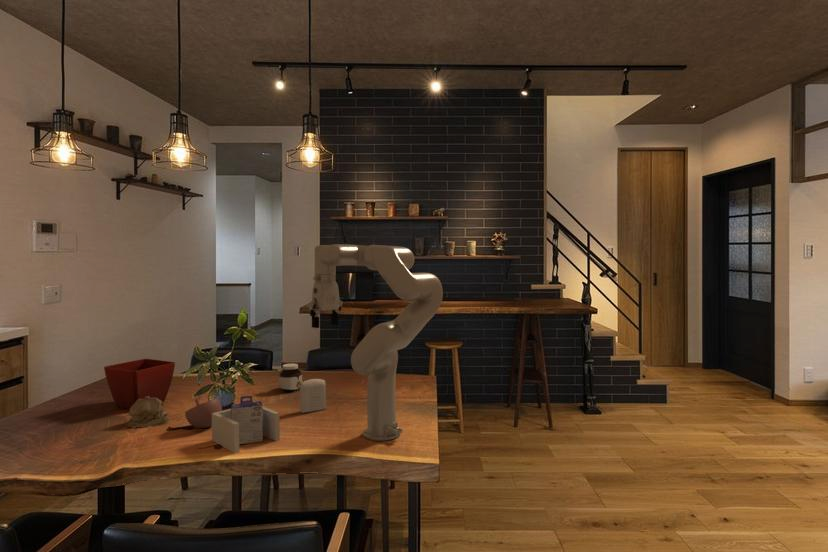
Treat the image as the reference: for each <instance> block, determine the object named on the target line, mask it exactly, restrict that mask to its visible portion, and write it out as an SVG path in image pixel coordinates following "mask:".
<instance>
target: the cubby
mask: <svg viewBox="0 0 828 552" xmlns="http://www.w3.org/2000/svg"><path fill="white" fill-rule="evenodd" d="M262 409H263V437H266V438H268V439H270V438H271V439H270V440H272V439H273V440H272V441H274V440H275V442H277V440H278V441H280V440H281V438H280V437H281V436H280V434H281V433H280V431H281V430H280V412H278V411H275V410H273V409H270V408H269V407H265V406H264V405H262ZM212 440H213V441H212ZM211 441H212V442H214V441H215V443H216V444H218V445H219V444H220V445H219V446H221V445H222V446H221V447H223V448H225V449H226V448H227V450H228V451H230V452H232V453H233V454H237V453H240V444H239V423H238V422H235V421H233V420H231V408H228V409H225V410H222V411H220V412H215V413H212V426H211Z"/></svg>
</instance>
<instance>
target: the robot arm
mask: <svg viewBox="0 0 828 552" xmlns="http://www.w3.org/2000/svg"><path fill="white" fill-rule="evenodd" d="M414 264H415V255H414V253H413V251H411V249H409V248H408V247H405V246H397V245H381V244H370V245H363V244H350V243H349V244H347V243H345V244H341V243H340V244H339V243H337V244H336V243H335V244H318V245H316V246H315V247H314V276H313V281H314V283H313V287H312V293H311V294H312V295H311V301H310V302H308V303H307V304H306V309H307V312H308V314H309V316H310V317H311V328H313V329H319V328H320V316H319V315H320V313H321V312H328V311H331V313H330V324H331V325H333V326H339V315H340V314H341V310H342V307H343V305H344V301H342V299H340V290H339V285H338V282H337V281H336V279H337V274H336V273H337V272H336V267H337V266H339V267H341V266H361V267H366V268H367V269H368V270H371V271H378V273H379V274H380V276H381V277H382V279H383V280H384V282H385V283H386V284H387V285H388V286H389V287H390V289H391V290H392V291H393V293H394V294H395V295H396V297H397V298H399V299H401V300H403V301H406V302H410V303H409V304H408V305H407V306H405V307H404V308H403V310H402V311H401V313H400V314H399V315H397V317H395V319H393V320H389V321H386V322H381V323H379V324H377V325H375V326H373V327H372V328H371V329H369V331H368V332H367V334H366V335H365V336H364V337H363V338H362V340H360V342H359V343H358V344H357V345H356V346H355V348H353V351H352V353H351V355H350V364H351V367H352V369H353V371H354V372H356V373H357V374H359V375H361V376H362V375H363V376H366V375H367V376H368V377H367V381H366V385H367V387H366V399H367V400H366V403H367V404H366V405H367V408H366V410H367V413H366V414H367V415H366V416H367V420H366V421H367V424H366V425H367V428H365V429H363V431H362V436H363V438H365V439H367V440H370V441H377V442H378V441H380V442H384V441H391V440H394V439H396V438H398V437H400V436H401V433H403V429H402V428H401V427H398V424H399V423H398V422H397V420H396V377H397V376H396V375H397V366H398V362H399V361H398V360H399V353H398V351H399V350H403V349H405V348H406V347H407V346H409V345H410V343H411V342H412V341H413V340H414V339H415V338H416V336H418V334H419V333H420V332H421V331H422V330H423V328H424V327H425V326H426V325H427V323H428V322H429V321H430V320H431V319H432V318H434V316H435V315H436V313H437V312H438V311H439V309H440V307H441V304H442V301H443V297H444V296H443V294H444V291H443V285H442V282H441V280H440V279H439V277H438V276H436V275H435V274H433V273H430V272H411V271H410V269H412V268H413V266H414Z"/></svg>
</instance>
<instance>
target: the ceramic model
mask: <svg viewBox="0 0 828 552" xmlns="http://www.w3.org/2000/svg"><path fill="white" fill-rule="evenodd" d="M164 411H165V408H164V402H162V401H161V400H159V399H158V398H155V397H154V398H149V396H145V399H138V400H137V401H136V402H135V403H134V404H133V406H131V408H130V409H129V413H128V414H129V417H131V419H129V420H128V421H127V423H128V424H127V427H128V428H129V427H144V428H149V427H148V426H152V427H156V426H155V425H158V426H162V425H161V424H163V425H166V424H167V423H168V422H170V414H169V413H168V412H167V413H164ZM165 423H166V424H165Z"/></svg>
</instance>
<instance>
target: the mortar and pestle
mask: <svg viewBox="0 0 828 552" xmlns="http://www.w3.org/2000/svg"><path fill="white" fill-rule="evenodd" d="M201 398H202V394H199V395H198V396H197V397H196V398H195V399H194V401H195V404H196V405H195V406H193V407H191V408H189V409H188V410H186V411H185V412H184V413H185V414H184V415H185V418H186V420H187V422H188V423H189V425H191V426H193V427H194V428H197V429H206V428H210V427H212V413H215V412H220V411H223V405H222V402H221V401H220V399H219V398H218V397H215V398H212V399H209V400H207V401H205V402H202V403H201V402H200V400H201Z"/></svg>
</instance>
